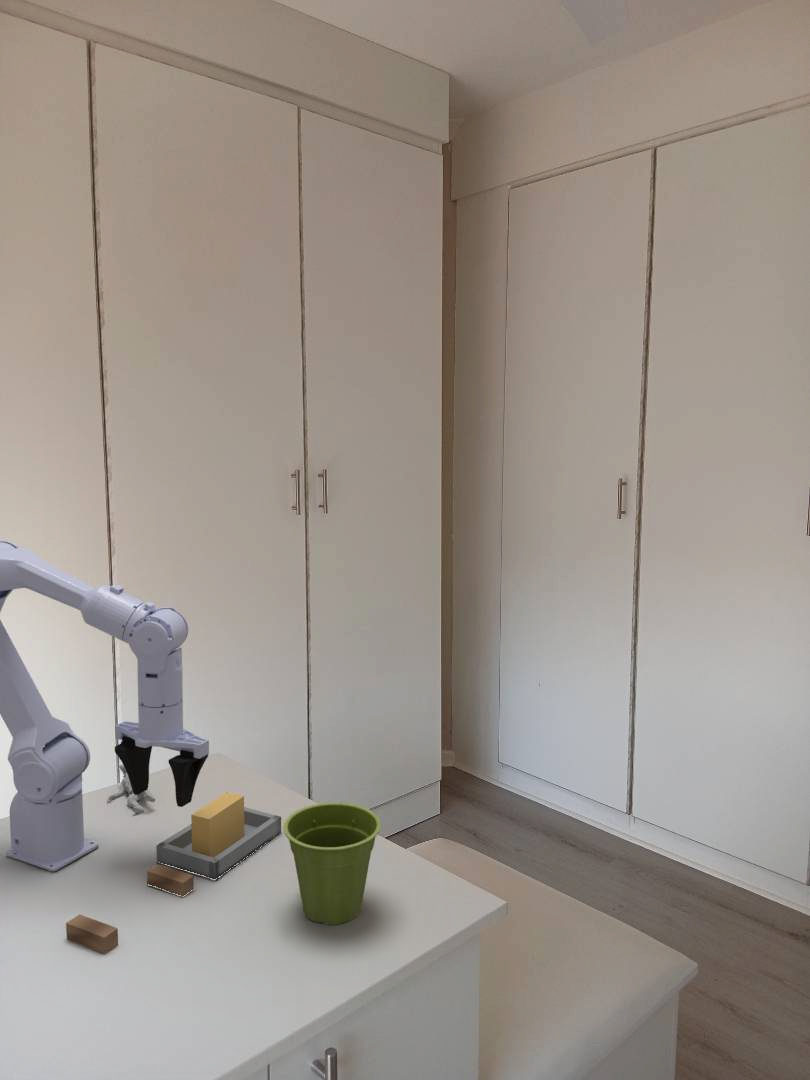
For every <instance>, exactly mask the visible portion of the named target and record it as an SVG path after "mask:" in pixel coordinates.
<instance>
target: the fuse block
mask: <svg viewBox="0 0 810 1080" xmlns="http://www.w3.org/2000/svg"><path fill="white" fill-rule="evenodd" d="M244 807H245V796H244V795H241V794H236V793H233V792H229V791H228V792H225V793H222V795H220V796H218V797H217V798H216V799H214V800H212V801H211V802H209V803H207V804H206V805H204V806H203V807H201V808H199V809H198V810H196V811H194V812H193V813H192V814H191V816H190V817H191V818H190V819H191V824H192V851H193V852H196V853H199V854H203V855H206V856H209V857H213V858H214V857H216V856H217V855H219V854H220V853H221V852H223V851H224V850H226V849H227V848H228V847H230V846H231V845H232V844H234V843H235V842H236V841H238V840H239V839H241V838H242V837H243V836H245V835H244Z"/></svg>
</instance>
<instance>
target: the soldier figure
mask: <svg viewBox="0 0 810 1080" xmlns="http://www.w3.org/2000/svg"><path fill="white" fill-rule="evenodd" d="M118 767H119V768H118V769H120V771H121V772H122V775H123V776H122V777H123V778H122V779H121V782H120V786H119V789H118V791H117V792H115V793H113V794H110V795H109V796H108V797H107V799H106V801H110V803H112V800H116V799H118V798H121V797H122V796H124V794H125V793H126V792H127V793H129V794H128V797H127V799H126V801H127V805H128V804H129V807H132V809H131V810H132V812H133V813H136V814H139V813H140V814H144V813H145V809H144V808H143V807H142V806H141V805H140V804H139V802H138V801H140V800H141V799H142V797H143V796H144V800H145V801H147V802H150V803H155V802H156V798H155V797H154V796H153V794H152V793H151V791H150V789H149V788H148V790H146V791H144V792H142V793H140V794H138V795H135V794H134V793H133V790H132V787H131V783H130V780H129V777H128V774H127V772H126V769H125V767H124V765H123V763H121V764H119V765H118Z"/></svg>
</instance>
